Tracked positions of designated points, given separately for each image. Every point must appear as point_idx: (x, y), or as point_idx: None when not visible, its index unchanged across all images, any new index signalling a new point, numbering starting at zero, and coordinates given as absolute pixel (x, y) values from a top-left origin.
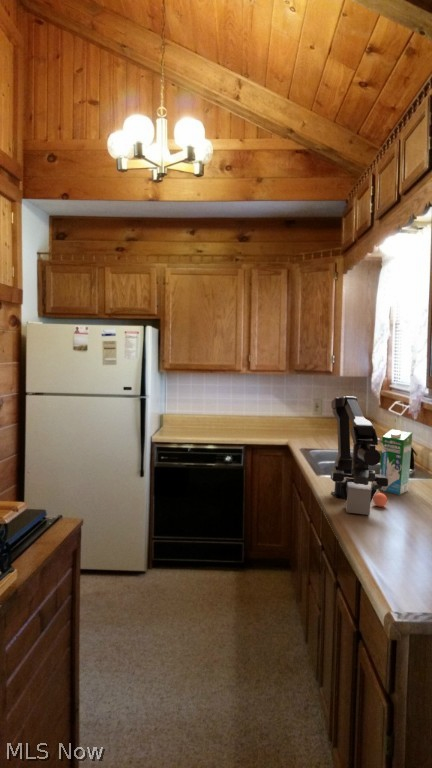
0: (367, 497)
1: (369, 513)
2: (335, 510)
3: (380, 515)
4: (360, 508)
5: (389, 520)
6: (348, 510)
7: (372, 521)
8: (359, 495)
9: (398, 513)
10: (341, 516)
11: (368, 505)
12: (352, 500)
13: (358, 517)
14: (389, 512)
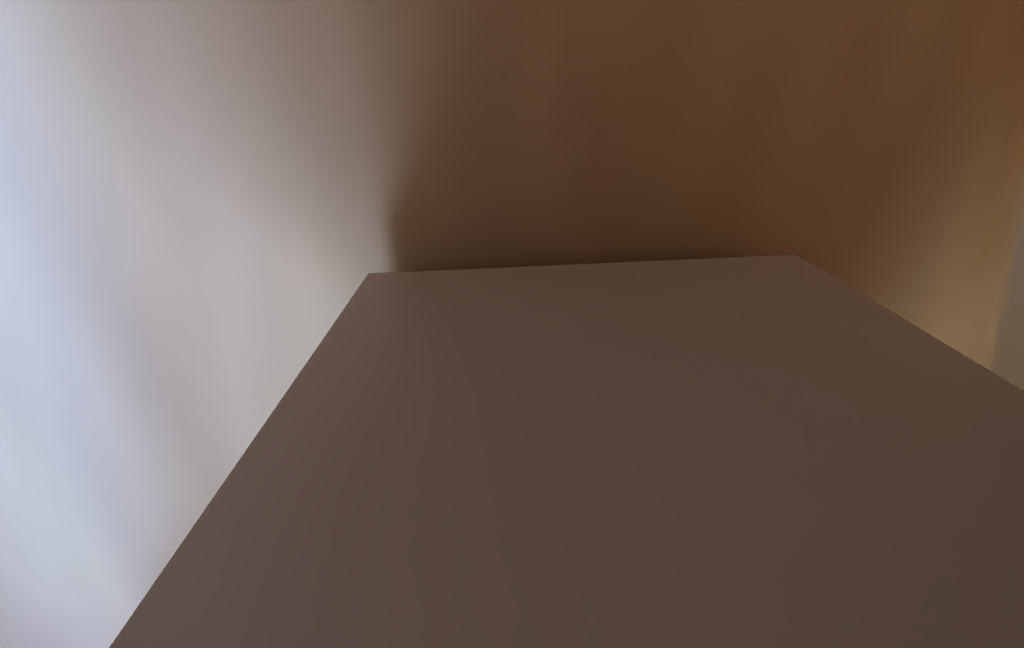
0: (319, 547)
1: (363, 282)
2: None
3: (217, 405)
4: (551, 307)
5: (22, 226)
6: (780, 269)
7: (299, 18)
8: (706, 580)
9: (13, 563)
10: (911, 73)
11: (350, 361)
12: (848, 397)
13: (572, 157)
14: (129, 556)
